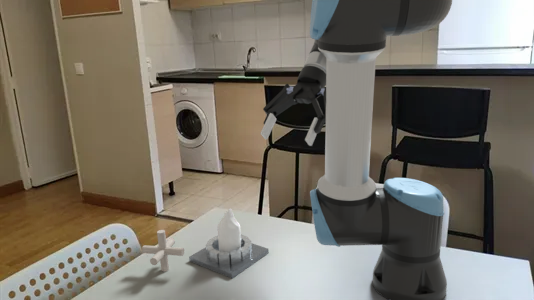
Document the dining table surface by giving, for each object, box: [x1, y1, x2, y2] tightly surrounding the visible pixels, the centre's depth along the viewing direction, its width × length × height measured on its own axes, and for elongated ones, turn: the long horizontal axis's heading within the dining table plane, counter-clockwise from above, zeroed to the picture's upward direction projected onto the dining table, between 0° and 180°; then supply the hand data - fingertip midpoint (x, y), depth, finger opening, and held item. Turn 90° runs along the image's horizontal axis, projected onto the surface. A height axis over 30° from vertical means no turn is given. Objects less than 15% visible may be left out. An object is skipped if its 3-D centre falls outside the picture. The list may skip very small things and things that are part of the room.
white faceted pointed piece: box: [217, 208, 242, 252], centre depth 107 cm, size 6×12×6 cm
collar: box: [188, 234, 270, 279], centre depth 109 cm, size 14×14×4 cm
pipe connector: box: [141, 229, 185, 272], centre depth 103 cm, size 10×10×10 cm
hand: (285, 139), depth 110 cm, fingers open, 13 cm apart
